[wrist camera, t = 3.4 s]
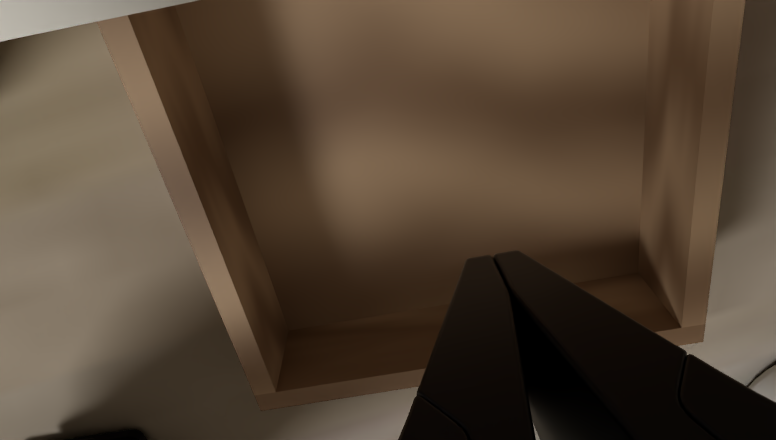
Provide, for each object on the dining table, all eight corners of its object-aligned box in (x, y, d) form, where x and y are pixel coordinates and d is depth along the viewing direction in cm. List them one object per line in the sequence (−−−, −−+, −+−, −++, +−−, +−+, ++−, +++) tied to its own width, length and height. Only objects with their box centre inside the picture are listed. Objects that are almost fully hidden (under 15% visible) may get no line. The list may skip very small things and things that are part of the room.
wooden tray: (650, 277, 22) (703, 341, 19) (277, 338, 23) (260, 411, 20) (683, -291, 14) (790, -368, 10) (95, -156, 15) (10, -184, 11)
